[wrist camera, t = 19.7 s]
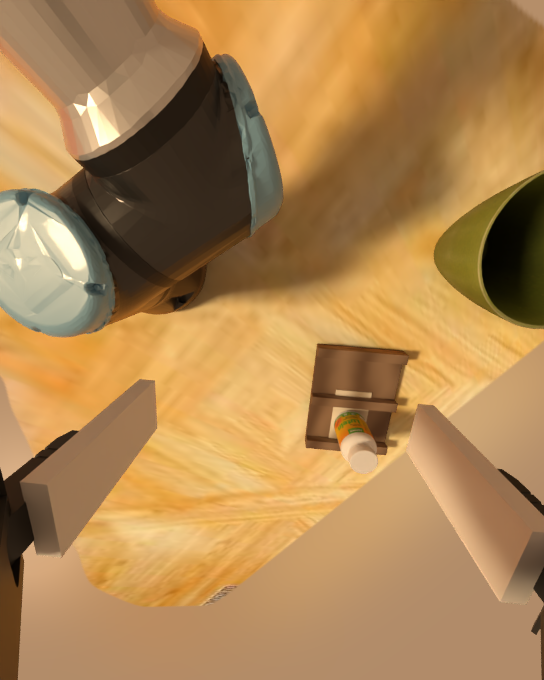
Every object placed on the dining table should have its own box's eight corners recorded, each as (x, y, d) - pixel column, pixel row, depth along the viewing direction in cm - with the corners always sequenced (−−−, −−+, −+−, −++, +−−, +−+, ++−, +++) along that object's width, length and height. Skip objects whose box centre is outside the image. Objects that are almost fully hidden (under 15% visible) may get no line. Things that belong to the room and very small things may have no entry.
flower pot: (518, 285, 42) (652, 302, 27) (417, 315, 44) (488, 347, 29) (508, 180, 38) (659, 128, 23) (398, 218, 40) (469, 194, 25)
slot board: (304, 444, 52) (305, 452, 49) (317, 343, 46) (318, 348, 44) (380, 451, 51) (384, 459, 49) (402, 351, 46) (408, 355, 43)
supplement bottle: (355, 404, 48) (373, 440, 38) (369, 428, 49) (390, 468, 40) (327, 418, 49) (337, 456, 39) (342, 441, 50) (355, 483, 41)
